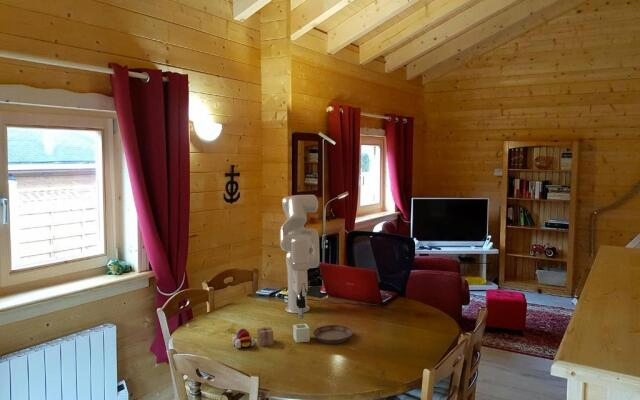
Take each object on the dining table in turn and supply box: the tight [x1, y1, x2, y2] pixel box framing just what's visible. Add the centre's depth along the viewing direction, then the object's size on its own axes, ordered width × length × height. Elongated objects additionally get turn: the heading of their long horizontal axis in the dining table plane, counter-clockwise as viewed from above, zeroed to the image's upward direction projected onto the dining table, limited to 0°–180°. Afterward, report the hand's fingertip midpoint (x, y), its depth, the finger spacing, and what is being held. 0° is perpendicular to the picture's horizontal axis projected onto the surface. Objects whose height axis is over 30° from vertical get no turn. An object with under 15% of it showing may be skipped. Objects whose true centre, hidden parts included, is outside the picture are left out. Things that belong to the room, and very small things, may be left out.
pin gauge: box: [297, 291, 305, 320], centre depth 232 cm, size 3×3×12 cm
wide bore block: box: [292, 323, 311, 343], centre depth 233 cm, size 6×6×6 cm
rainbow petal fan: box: [231, 328, 256, 349], centre depth 228 cm, size 8×10×7 cm
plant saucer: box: [312, 324, 354, 344], centre depth 235 cm, size 18×18×3 cm
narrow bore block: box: [256, 326, 274, 347], centre depth 230 cm, size 6×6×6 cm
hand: (300, 306), depth 232 cm, fingers closed on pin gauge, 2 cm apart
